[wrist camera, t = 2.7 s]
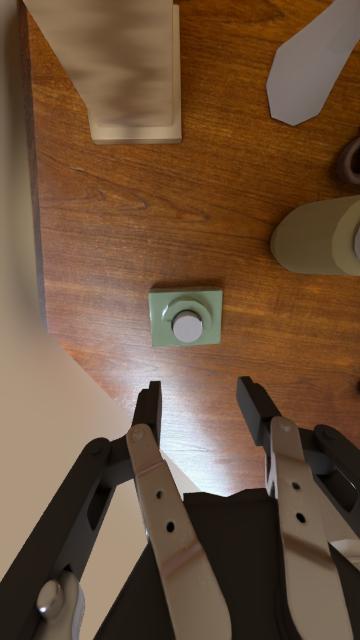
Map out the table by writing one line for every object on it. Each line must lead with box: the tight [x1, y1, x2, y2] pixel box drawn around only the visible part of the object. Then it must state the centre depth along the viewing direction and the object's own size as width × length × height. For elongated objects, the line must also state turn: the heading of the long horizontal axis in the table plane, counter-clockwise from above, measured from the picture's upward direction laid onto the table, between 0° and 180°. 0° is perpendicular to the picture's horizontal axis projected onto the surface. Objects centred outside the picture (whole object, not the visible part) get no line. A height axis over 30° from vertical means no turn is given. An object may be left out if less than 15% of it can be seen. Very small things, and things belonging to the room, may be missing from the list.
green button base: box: [148, 286, 223, 347], centre depth 28 cm, size 10×8×5 cm
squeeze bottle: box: [270, 195, 360, 276], centre depth 19 cm, size 8×8×18 cm
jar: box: [314, 481, 360, 571], centre depth 36 cm, size 10×10×18 cm
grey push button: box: [173, 311, 202, 342], centre depth 25 cm, size 4×4×2 cm
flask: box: [266, 0, 360, 126], centre depth 17 cm, size 7×7×10 cm
